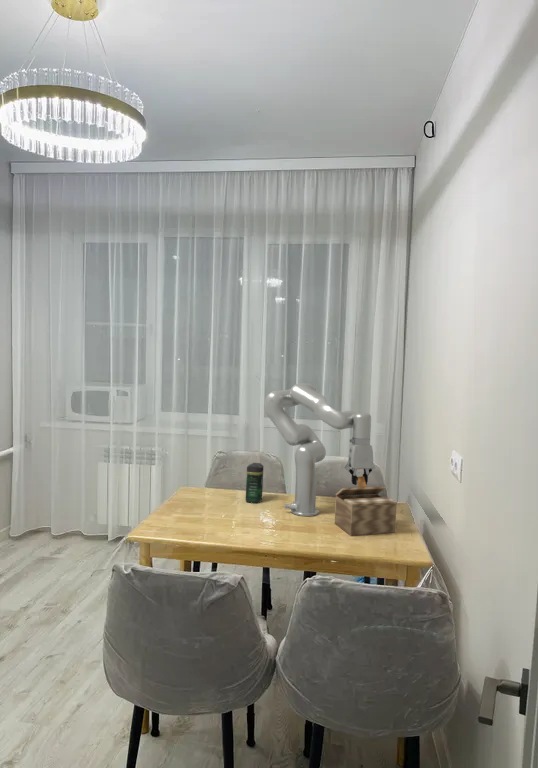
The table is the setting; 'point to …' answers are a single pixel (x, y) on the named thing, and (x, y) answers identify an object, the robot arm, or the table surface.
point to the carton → (365, 514)
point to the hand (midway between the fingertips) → (359, 483)
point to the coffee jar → (254, 482)
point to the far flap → (360, 489)
